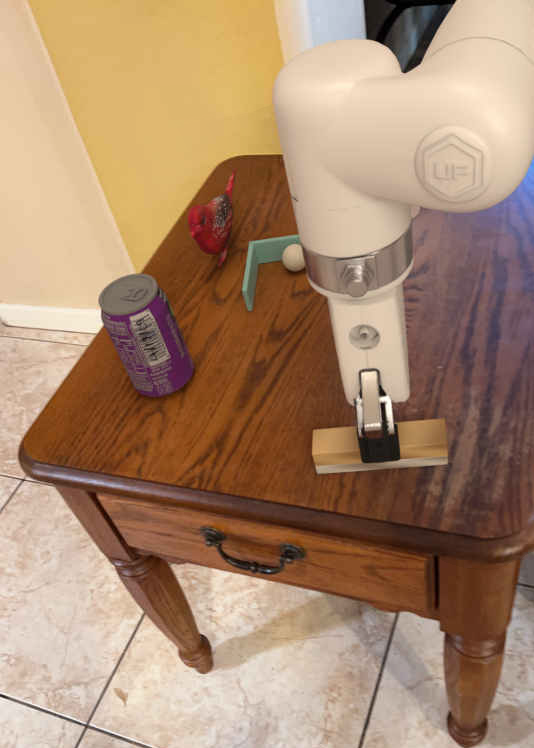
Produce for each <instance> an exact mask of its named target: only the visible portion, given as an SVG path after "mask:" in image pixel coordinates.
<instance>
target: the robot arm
mask: <svg viewBox="0 0 534 748" xmlns="http://www.w3.org/2000/svg"><path fill="white" fill-rule="evenodd" d="M271 100H272V108H273V114H274V120H275V124H276V125H275V126H276V130H277V135H278V139H279V144H280V149H281V153H282V159H283V164H284V168H285V169H284V170H285V174H286V179H287V185H288V189H289V193H290V194H289V195H290V198H291V203H292V208H293V214H294V218H295V223H296V227H297V228H296V229H297V232H298V234H299V237H300V243H301V248H302V253H303V258H304V262H305V267H304V268H305V272H306V277H307V281H308V283H309V284H310V286H311V288H312V289H313V290H315V292H317V293H319V294H320V295H322V296H324V297H326V301H327V306H328V312H329V318H330V324H331V330H332V336H333V339H334V347H335V352H336V356H337V357H336V358H337V362H338V367H339V372H340V377H341V382H342V387H343V391H344V395H345V399H346V402H347V403H348V404H349V405H351V406H352V407H354V408H355V404H356V411H357V419H356V423H357V422H358V425H357V426H358V427H357V437H358V443H359V449H360V455H361V460H362V462H363V463H384V462H391V461H398V460H400V459H401V455H400V445H399V435H398V426H397V424H394V423H395V418H394V409H393V403H394V404H397V403H405V402H406V401H408V399H409V398H410V396H411V383H410V365H409V352H408V351H409V349H408V335H407V322H406V310H405V298H404V288H403V281H404V280H406V278H408V276H409V275H410V273H411V271H412V270H413V268H414V263H415V254H414V238H413V237H414V236H413V223H412V222H413V219H411V205H415V206H419V207H420V208H422V209H423V208H424V209H428V210H432V211H439V212H444V213H445V212H447V213H453V214H455V213H456V214H459V213H460V214H462V213H463V214H464V213H465V214H467V213H476V212H480V211H484V210H488V209H490V208H492V207H494V206H497V205H498V204H499V203H502V202H503V201H504V200H506V199H507V198H508V197H510V196H511V195H512V194H513V193H514V192H515V191H516V190H517V188H519V186H520V185H521V183H522V182H523V180H524V179H525V177H526V176H527V173H528V171H529V169H530V166H531V164H532V162H533V159H534V0H455V2H454V4H452V7H451V8H450V10H449V11H448V13H447V14H446V16H445V17H444V19H443V20H442V22H441V24H440V25H439V27H438V28H437V30H436V32H435V34H434V36H433V38H432V40H431V42H430V44H429V46H428V47H427V49H426V52H425V53H424V55H423V57H422V60H421V62H420V64H418V65H417V66H415V67H414V68H412V69H411V70H409V71H406V72H405V73H404V72H402V68H401V66H400V63H399V60H398V58H397V56H396V55H395V54H394V52H392V50H391V49H390V48H389V47H388V46H386V45H384V44H382V43H380V42H378V41H375V40H372V39H367V38H366V39H365V38H346V39H339V40H338V39H337V40H333V41H329V42H328V41H327V42H325V43H324V42H323V43H321V44H317V45H315V46H313V47H310V48H308V49H306V50H304V51H302V52H300V53H298V54H296V55H295V56H293V57H292V58H290V59H289V60H288V61H287V62H286V63H285V64H284V65H283V66H282V67H281V68H280V70H279V72H278V73H277V74H276V78H275V80H274V83H273V87H272V99H271ZM379 385H381V386H382V389H383V390H384V391H385V393H386V394H380V393H379ZM361 387H362V396H361V392H360V390H361ZM381 403H385V409H386V420H382V418H381V408H380V404H381ZM393 418H394V419H393Z"/></svg>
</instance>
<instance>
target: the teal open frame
mask: <svg viewBox="0 0 534 748" xmlns="http://www.w3.org/2000/svg"><path fill="white" fill-rule="evenodd" d="M292 244H299V245H301V243H300V237H299V233H298V234H292V235H284V236H279V237H278V236H277V237H271V238H264V239H258V240H251V241H249V242H248V249H247V255H246V263H245V269H244V276H243V282H242V288H241V292H242V295H243V299H244V302H245V307H246V309H247V311H248V312H252V311H253V309H254V302H255V294H256V287H257V278H258V271H259V264H267V263H273V262H282V254H283V252H284V250H285V249H286V247H288V246H289V245H292Z"/></svg>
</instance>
